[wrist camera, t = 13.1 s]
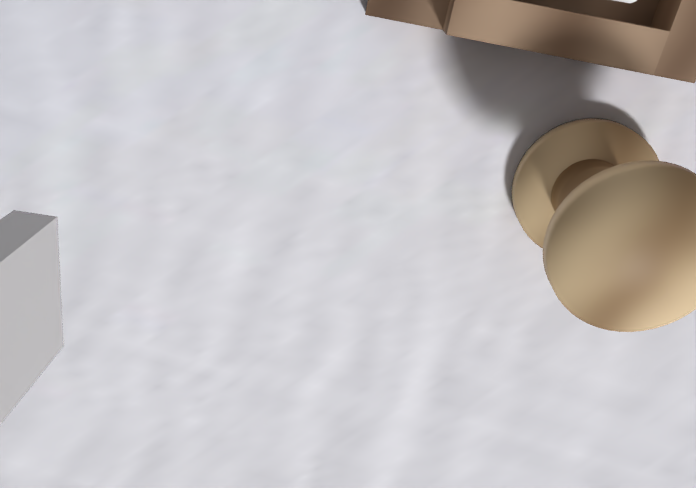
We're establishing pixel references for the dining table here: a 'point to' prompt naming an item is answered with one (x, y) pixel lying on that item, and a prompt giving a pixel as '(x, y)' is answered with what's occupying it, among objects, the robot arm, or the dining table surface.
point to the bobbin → (610, 224)
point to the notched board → (568, 29)
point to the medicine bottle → (626, 1)
